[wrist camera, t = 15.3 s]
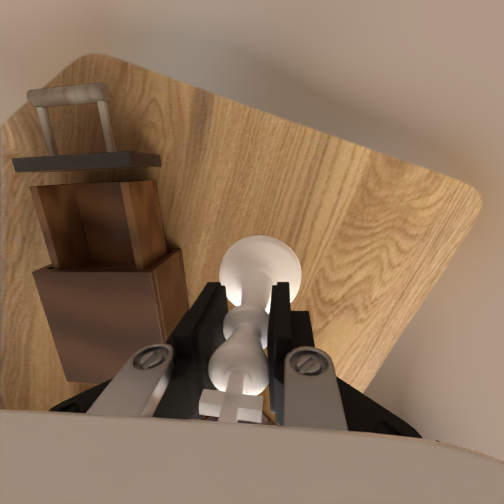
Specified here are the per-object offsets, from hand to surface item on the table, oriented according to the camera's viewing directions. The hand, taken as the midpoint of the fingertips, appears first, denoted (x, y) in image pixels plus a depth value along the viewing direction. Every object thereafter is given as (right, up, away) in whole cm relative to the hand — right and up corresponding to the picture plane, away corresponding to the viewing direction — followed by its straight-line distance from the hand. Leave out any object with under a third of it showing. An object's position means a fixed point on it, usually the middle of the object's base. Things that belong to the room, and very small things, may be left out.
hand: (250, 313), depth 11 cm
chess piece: (+1, +1, +5) cm, 5 cm away
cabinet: (-14, -3, +23) cm, 27 cm away
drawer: (-15, +10, +18) cm, 25 cm away
